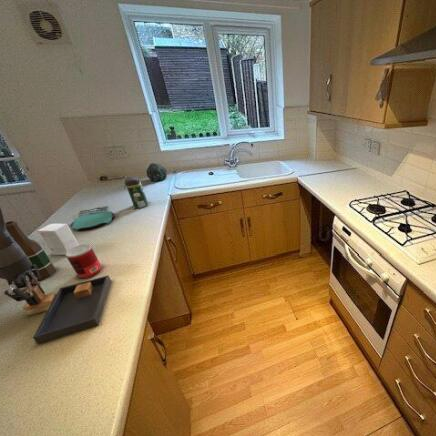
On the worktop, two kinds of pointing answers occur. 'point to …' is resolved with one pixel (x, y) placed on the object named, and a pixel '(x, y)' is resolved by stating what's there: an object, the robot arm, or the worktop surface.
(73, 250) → the canned food
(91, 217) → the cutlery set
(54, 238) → the small box
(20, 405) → the worktop surface
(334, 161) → the worktop surface
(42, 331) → the tray
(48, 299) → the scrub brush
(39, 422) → the worktop surface
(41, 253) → the beer bottle
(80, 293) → the orange brown wooden block
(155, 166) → the squash
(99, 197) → the worktop surface
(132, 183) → the coffee jar
